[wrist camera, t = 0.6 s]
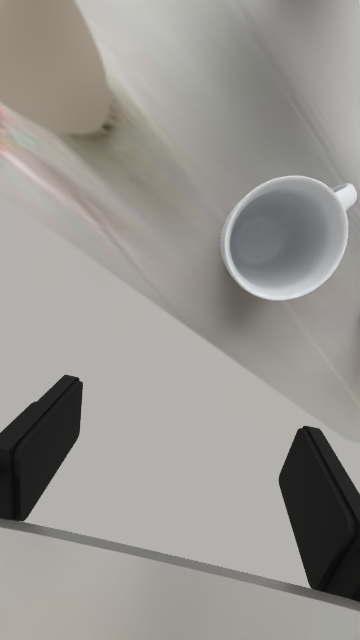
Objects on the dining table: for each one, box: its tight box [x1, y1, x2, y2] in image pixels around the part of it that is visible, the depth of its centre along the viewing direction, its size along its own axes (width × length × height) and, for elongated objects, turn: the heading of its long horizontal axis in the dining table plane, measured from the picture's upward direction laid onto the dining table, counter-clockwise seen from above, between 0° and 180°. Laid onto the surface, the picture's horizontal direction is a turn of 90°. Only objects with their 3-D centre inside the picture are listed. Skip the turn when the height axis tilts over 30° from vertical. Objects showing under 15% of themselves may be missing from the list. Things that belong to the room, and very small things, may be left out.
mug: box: [220, 176, 357, 301], centre depth 29 cm, size 15×11×13 cm
